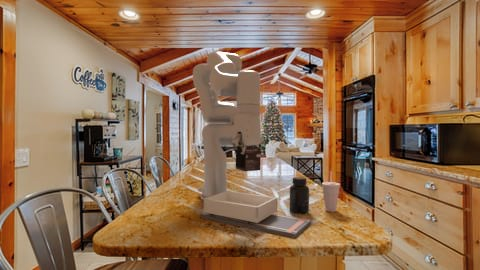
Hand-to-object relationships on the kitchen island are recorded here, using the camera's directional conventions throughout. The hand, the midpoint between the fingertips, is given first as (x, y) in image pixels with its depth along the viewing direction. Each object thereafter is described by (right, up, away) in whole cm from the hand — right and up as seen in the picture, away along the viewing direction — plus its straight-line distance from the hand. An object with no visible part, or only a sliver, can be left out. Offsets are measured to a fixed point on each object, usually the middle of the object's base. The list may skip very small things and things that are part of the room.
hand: (247, 165), depth 90 cm
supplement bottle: (+19, -18, +10) cm, 28 cm away
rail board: (+2, -18, 0) cm, 18 cm away
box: (0, -2, 0) cm, 2 cm away
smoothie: (+30, -18, +12) cm, 37 cm away
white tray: (-2, -16, +3) cm, 17 cm away
